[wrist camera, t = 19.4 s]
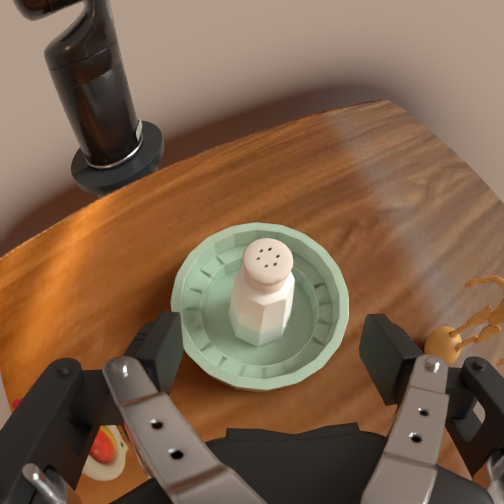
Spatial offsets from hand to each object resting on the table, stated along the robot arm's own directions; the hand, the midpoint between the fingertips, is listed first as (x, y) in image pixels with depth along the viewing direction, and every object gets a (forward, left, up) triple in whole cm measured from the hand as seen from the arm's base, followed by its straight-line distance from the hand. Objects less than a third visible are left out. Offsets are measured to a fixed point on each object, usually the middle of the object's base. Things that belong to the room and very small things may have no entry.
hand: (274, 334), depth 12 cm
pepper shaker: (-4, +2, -13) cm, 14 cm away
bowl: (-4, +2, -13) cm, 14 cm away
